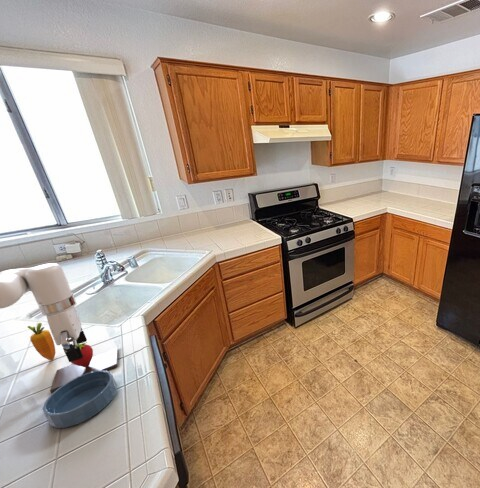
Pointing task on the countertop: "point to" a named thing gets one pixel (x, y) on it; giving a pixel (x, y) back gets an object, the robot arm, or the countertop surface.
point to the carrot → (43, 342)
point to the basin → (80, 399)
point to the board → (85, 368)
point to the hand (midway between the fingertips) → (78, 350)
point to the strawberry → (84, 355)
